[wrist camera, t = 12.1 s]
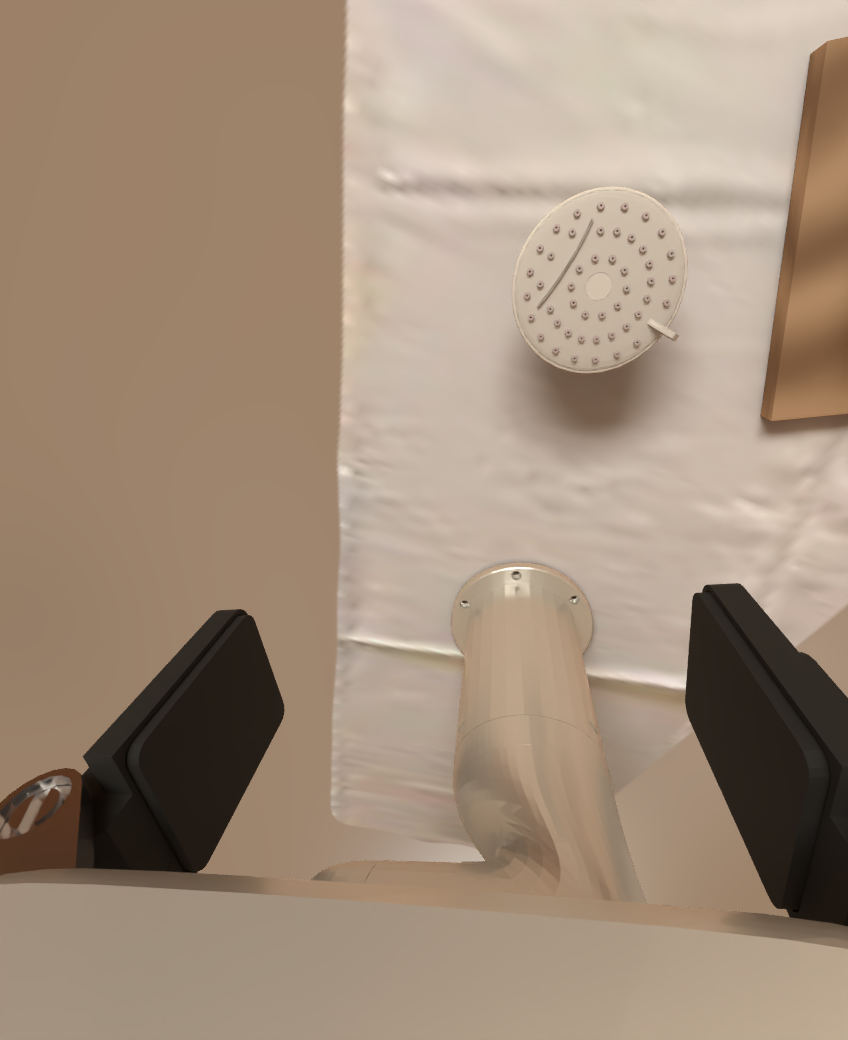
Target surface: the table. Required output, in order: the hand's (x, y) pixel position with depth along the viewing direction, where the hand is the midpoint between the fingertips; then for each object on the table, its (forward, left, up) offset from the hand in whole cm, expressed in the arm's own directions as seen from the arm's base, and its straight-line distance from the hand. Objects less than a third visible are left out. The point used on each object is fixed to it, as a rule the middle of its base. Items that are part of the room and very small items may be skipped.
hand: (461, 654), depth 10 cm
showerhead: (+6, -7, -30) cm, 31 cm away
